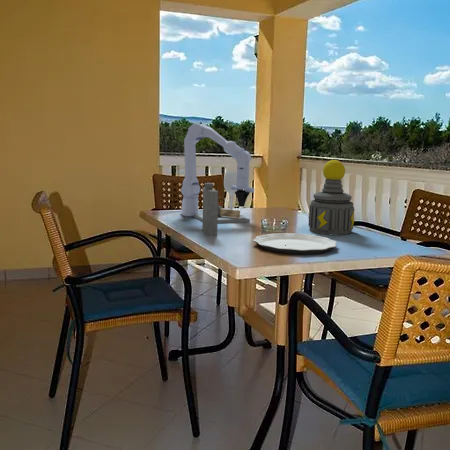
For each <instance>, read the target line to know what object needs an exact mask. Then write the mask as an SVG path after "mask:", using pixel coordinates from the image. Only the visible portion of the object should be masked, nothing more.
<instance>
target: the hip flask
mask: <svg viewBox="0 0 450 450" xmlns="http://www.w3.org/2000/svg"><path fill="white" fill-rule="evenodd" d="M213 187H214V182H204V187H203V188H202V213H203V222H202V225H201V227H202V232H203V233H204V234H205V235H207V236H210V237H218V223H217V219H218V205H219V191H218V190H216V189H213Z"/></svg>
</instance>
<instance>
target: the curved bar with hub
mask: <svg viewBox="0 0 450 450" xmlns="http://www.w3.org/2000/svg"><path fill="white" fill-rule="evenodd" d="M240 215H241V210H236V209H233V210H231V209H230V208H223V207H222V206H220V204H218V216H227V217H235V218H240Z"/></svg>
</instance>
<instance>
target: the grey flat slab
mask: <svg viewBox="0 0 450 450" xmlns="http://www.w3.org/2000/svg"><path fill="white" fill-rule="evenodd" d="M193 217H194V218H196V219H197V220H198V221H200V222H202V223H203V212H202V213H199V212H198V213H197V214H194V216H193ZM250 221H251V220H250V218H249V217H246V216H244V215H243V214H240V218H235V217H227V216H218V219H217V224H229V223H230V224H232V223H233V224H234V223H251V222H250Z"/></svg>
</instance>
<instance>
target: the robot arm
mask: <svg viewBox="0 0 450 450" xmlns="http://www.w3.org/2000/svg"><path fill="white" fill-rule="evenodd" d="M204 138H209V139H211V140H213V141H214V142H216V143H217V144H218V145H219V146H221V147H222V148H223V151H224V152H225V153H227V154H228V156H230V157H232V158H233V159H234V160H235V161H236V164H237V165H236V172H237V180H236V186H235V185H231V190H237V191H235V193H234V194H235V197H236V199H237V203H238V206H239V207H240V208H242V207H245V204H246V201H247V199H248V197H249V195H250V194H252V193H255V188H254V187H250V186H249V184H250V182H249V180H250V162H251V160H252V155H251V153H250V152H249V151H248V150H245V149H244V147H240V146H239V145H237V142H236V141H235V140H234V141H232V140H229V141H228V140H226V139H225V137H223V136H222V135H220V133H218V132H217V131H216V130H215V129H213V128H212V127H210V126H208V124H205V123H193V124H192V125H190V126H189V127H188V128H187V132H186V135H185V137H184V142H183V144H184V147H183V148H184V151H183V152H184V179H183V181H182V186H181V188H180V189H181V190H180V191H181V192H180V193H181V195H182V197H183V198H182V201H181V212H179V214H180V215H182V216H183V217H194V214H197V213H199V194H200V192H201V186H200V183H199V179H198V178H197V157H196V156H197V155H196V154H197V153H196V151H197V150H196V149H197V148H196V144H197V143H198V142H199V141H200V140H202V139H204Z"/></svg>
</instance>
